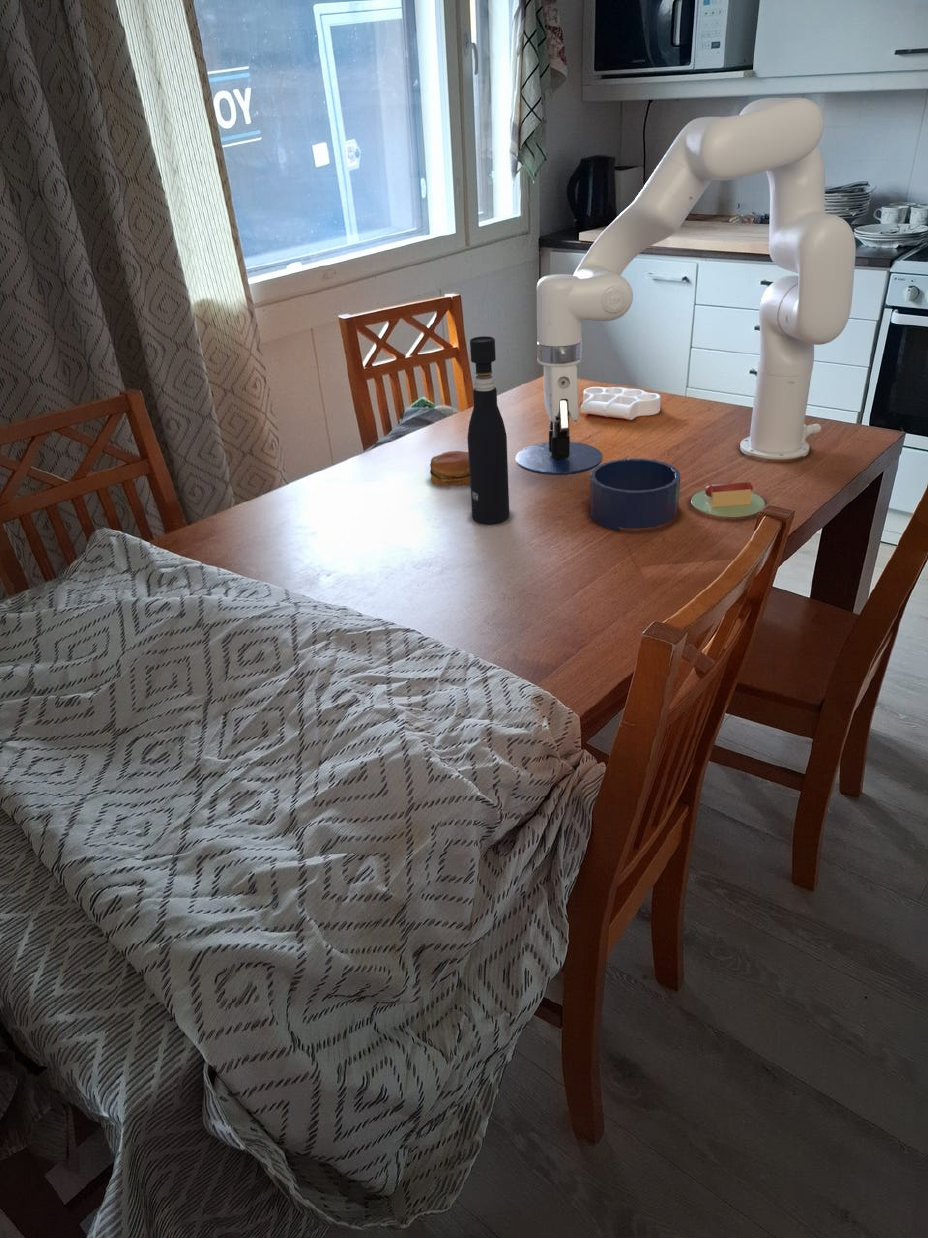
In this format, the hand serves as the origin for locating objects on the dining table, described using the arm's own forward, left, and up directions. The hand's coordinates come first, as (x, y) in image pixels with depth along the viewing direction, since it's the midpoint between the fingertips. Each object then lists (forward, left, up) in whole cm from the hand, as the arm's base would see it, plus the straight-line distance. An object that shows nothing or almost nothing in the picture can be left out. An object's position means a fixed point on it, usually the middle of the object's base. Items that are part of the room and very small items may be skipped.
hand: (559, 453), depth 156 cm
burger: (+16, -12, -6) cm, 21 cm away
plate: (-18, +25, -5) cm, 31 cm away
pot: (-3, +19, -5) cm, 20 cm away
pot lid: (0, 0, -1) cm, 1 cm away
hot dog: (-18, +25, -5) cm, 31 cm away
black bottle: (+18, +7, -6) cm, 20 cm away
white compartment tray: (-32, -28, -6) cm, 43 cm away
